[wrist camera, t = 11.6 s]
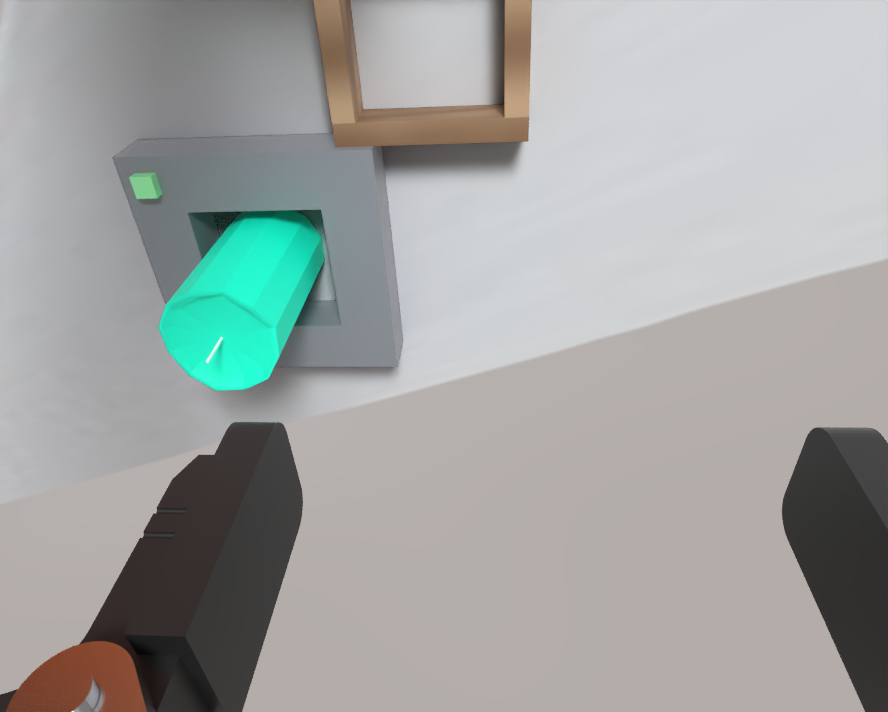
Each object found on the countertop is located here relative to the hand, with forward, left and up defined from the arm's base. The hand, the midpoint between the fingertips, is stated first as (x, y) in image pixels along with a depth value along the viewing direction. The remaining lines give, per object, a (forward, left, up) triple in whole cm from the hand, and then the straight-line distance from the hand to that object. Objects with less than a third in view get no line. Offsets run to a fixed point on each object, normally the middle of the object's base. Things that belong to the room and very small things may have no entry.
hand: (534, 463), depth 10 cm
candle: (+10, -14, -28) cm, 33 cm away
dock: (+10, -14, -28) cm, 33 cm away
